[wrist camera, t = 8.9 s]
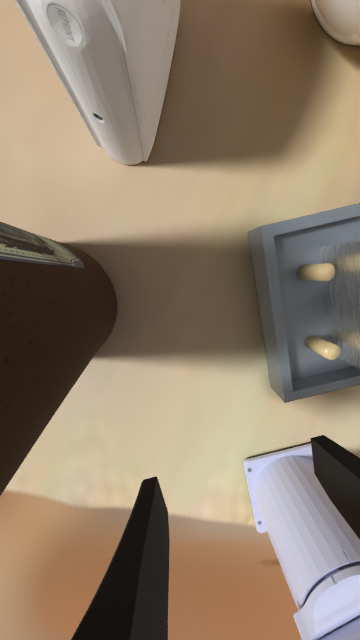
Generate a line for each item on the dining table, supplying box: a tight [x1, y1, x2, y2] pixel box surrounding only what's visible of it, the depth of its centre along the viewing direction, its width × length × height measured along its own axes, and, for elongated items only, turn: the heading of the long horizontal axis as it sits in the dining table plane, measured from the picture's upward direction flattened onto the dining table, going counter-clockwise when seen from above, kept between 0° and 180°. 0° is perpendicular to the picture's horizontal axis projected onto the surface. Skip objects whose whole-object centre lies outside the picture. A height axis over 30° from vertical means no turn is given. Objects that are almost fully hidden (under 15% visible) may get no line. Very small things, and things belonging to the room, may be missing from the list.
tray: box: [248, 203, 360, 403], centre depth 18 cm, size 14×14×4 cm
